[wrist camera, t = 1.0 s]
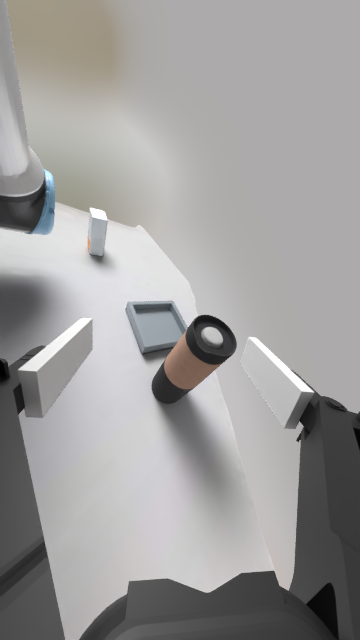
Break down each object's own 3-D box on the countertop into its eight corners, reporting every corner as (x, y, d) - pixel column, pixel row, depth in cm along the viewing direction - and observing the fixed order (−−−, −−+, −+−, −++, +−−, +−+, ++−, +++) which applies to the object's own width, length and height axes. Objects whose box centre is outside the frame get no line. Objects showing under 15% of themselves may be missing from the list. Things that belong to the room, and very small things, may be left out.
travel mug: (181, 372, 43) (229, 319, 30) (184, 406, 38) (244, 360, 25) (150, 368, 41) (188, 309, 27) (149, 404, 36) (196, 352, 22)
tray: (125, 309, 49) (127, 301, 47) (169, 307, 57) (172, 300, 55) (141, 353, 42) (145, 347, 40) (188, 344, 50) (193, 338, 48)
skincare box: (87, 244, 61) (89, 206, 53) (100, 246, 63) (104, 211, 55) (89, 254, 58) (92, 216, 50) (103, 256, 60) (108, 220, 52)
